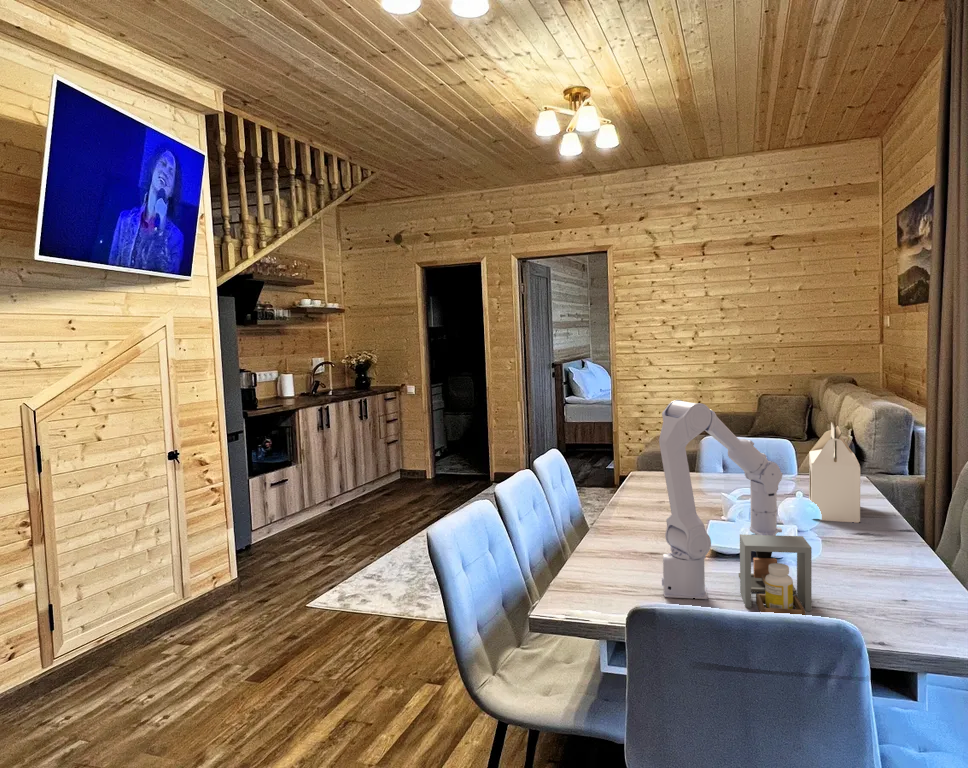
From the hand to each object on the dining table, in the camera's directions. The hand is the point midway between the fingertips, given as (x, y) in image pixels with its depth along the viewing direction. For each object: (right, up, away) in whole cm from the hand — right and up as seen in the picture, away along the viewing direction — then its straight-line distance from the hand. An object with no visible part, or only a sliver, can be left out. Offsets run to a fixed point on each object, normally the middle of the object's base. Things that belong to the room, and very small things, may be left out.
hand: (763, 565), depth 163 cm
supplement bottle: (-4, -5, -18) cm, 19 cm away
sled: (-3, -4, -12) cm, 13 cm away
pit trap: (-1, -4, -3) cm, 5 cm away
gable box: (+45, +2, +55) cm, 71 cm away
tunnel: (-3, -5, -13) cm, 14 cm away
